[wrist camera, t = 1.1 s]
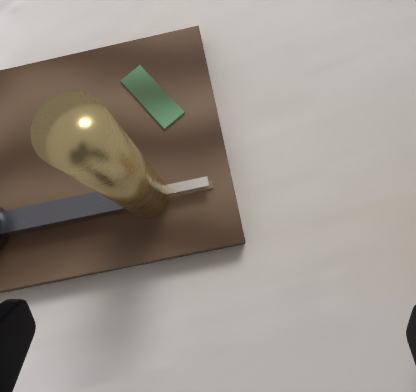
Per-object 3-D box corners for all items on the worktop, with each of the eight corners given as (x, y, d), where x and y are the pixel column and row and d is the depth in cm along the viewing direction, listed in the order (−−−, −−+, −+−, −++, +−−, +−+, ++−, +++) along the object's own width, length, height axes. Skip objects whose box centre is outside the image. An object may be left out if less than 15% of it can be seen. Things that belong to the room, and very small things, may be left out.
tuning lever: (214, 210, 21) (193, 152, 11) (-42, 263, 22) (-284, 253, 12) (203, 157, 22) (174, 57, 12) (-43, 209, 23) (-269, 156, 13)
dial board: (244, 243, 23) (245, 241, 21) (-29, 298, 23) (-49, 300, 22) (200, 39, 26) (198, 23, 25) (-34, 92, 27) (-52, 80, 25)
